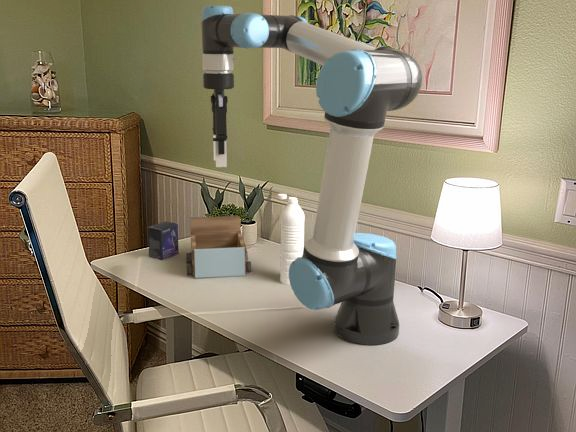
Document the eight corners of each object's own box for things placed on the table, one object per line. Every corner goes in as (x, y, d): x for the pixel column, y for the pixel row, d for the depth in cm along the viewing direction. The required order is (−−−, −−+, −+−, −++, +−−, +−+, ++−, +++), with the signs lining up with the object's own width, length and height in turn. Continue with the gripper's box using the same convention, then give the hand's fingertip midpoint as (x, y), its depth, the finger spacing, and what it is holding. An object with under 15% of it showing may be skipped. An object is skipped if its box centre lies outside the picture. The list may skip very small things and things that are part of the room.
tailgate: (245, 277, 176) (245, 248, 174) (194, 280, 174) (193, 250, 172) (245, 276, 177) (244, 247, 175) (194, 279, 175) (193, 249, 173)
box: (162, 263, 189) (160, 229, 186) (148, 259, 191) (146, 226, 188) (179, 256, 195) (178, 223, 192) (166, 252, 198) (164, 220, 195)
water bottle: (308, 284, 174) (310, 197, 167) (291, 290, 169) (292, 201, 162) (286, 275, 180) (287, 192, 173) (270, 281, 175) (270, 195, 169)
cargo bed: (251, 276, 178) (251, 233, 175) (187, 280, 175) (185, 236, 172) (245, 255, 196) (244, 215, 193) (186, 257, 193) (184, 217, 190)
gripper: (237, 74, 142) (238, 171, 149) (230, 70, 162) (231, 155, 169) (204, 74, 141) (207, 172, 147) (201, 70, 161) (203, 156, 167)
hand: (220, 163), depth 158 cm, fingers open, 8 cm apart
